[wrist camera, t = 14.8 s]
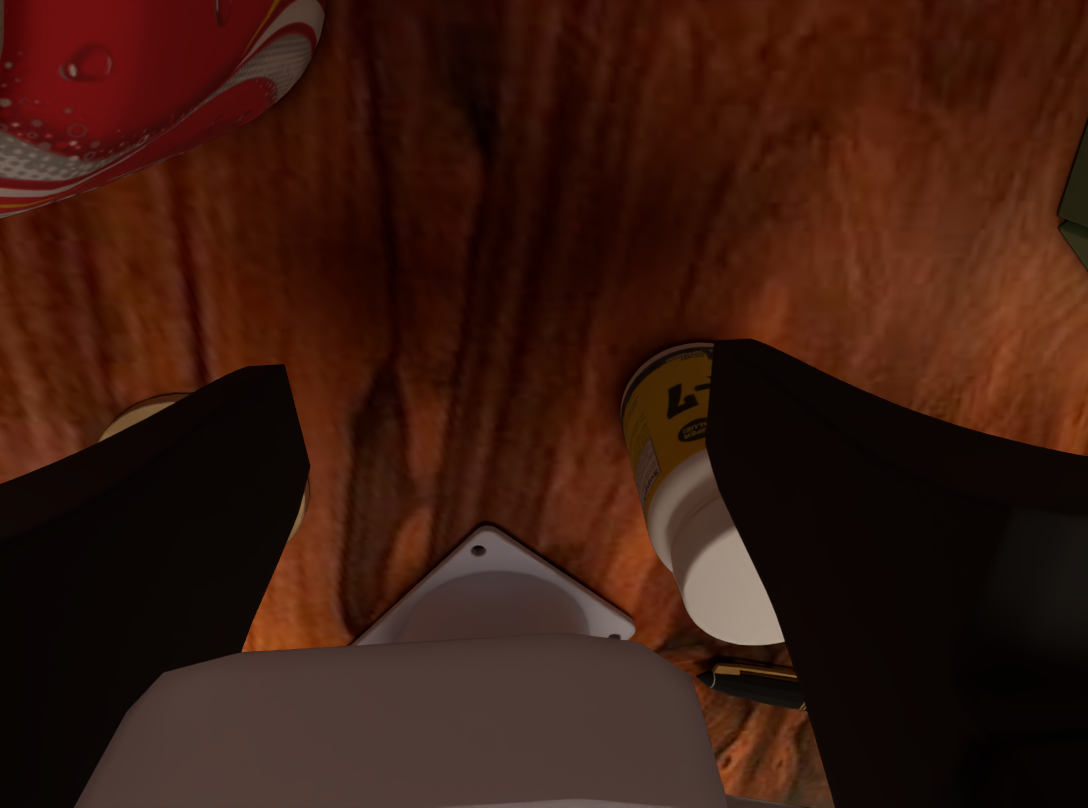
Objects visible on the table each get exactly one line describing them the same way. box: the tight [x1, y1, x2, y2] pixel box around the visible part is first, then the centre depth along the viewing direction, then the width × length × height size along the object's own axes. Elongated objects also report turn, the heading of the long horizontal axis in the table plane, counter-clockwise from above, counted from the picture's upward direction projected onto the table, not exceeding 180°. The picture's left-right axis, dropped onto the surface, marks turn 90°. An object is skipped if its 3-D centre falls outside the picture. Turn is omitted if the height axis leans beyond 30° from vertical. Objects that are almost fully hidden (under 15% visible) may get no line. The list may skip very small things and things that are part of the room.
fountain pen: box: [696, 663, 807, 711], centre depth 30 cm, size 14×1×2 cm
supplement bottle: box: [620, 343, 785, 645], centre depth 19 cm, size 5×5×8 cm
